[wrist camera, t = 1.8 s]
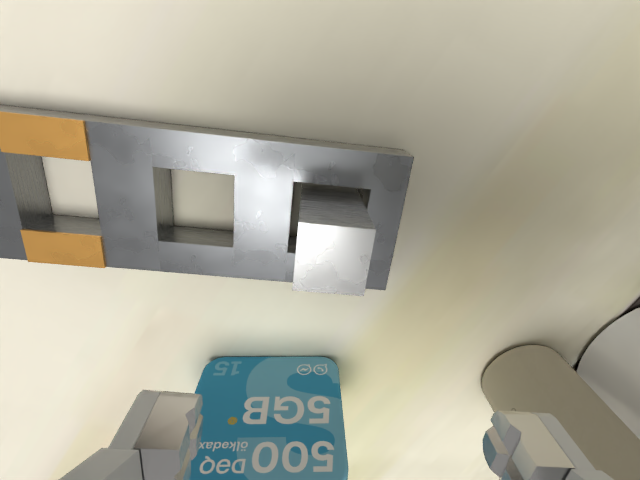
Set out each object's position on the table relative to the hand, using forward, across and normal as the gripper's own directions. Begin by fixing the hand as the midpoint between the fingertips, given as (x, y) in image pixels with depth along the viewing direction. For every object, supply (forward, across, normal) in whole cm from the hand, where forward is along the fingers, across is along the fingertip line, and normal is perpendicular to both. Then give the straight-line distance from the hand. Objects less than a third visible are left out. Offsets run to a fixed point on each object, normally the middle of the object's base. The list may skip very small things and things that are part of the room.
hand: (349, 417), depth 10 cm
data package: (+19, +3, +17) cm, 26 cm away
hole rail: (+19, +9, 0) cm, 21 cm away
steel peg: (+19, 0, 0) cm, 19 cm away
